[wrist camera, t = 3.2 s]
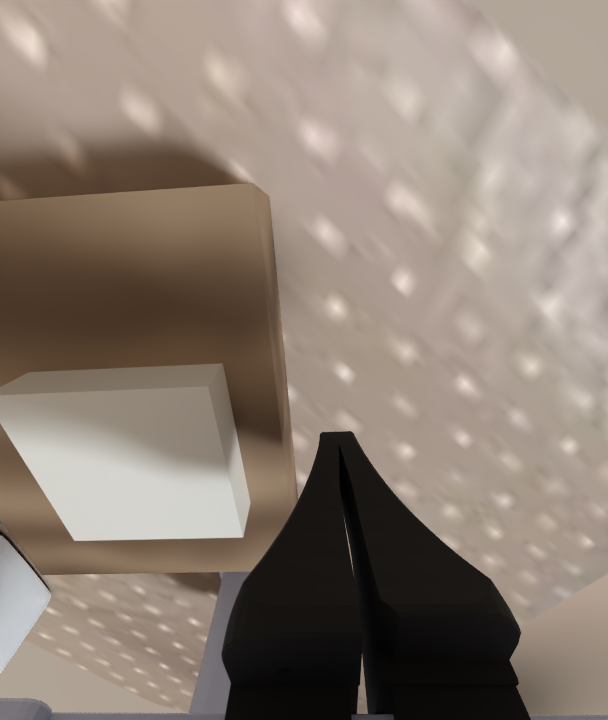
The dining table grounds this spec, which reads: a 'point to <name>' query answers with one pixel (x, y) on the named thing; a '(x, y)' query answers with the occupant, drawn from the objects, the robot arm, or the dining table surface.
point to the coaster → (132, 450)
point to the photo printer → (17, 600)
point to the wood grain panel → (148, 346)
